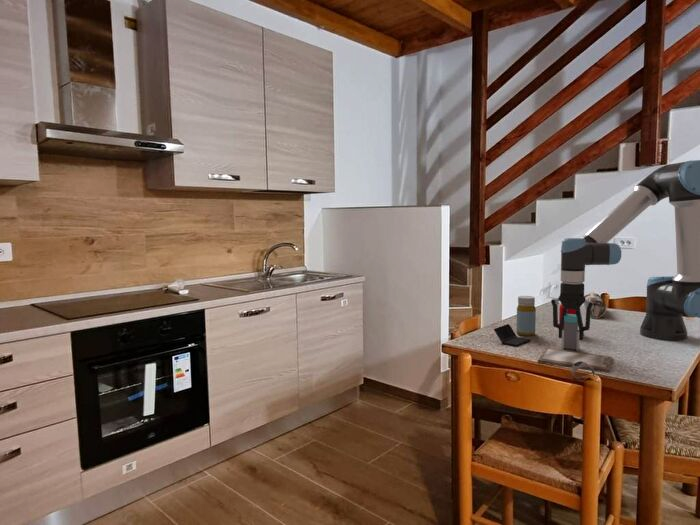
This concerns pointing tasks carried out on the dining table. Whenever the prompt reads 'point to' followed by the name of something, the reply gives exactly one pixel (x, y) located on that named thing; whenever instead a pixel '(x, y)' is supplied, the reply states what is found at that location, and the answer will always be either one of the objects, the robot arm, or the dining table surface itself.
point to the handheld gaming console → (509, 336)
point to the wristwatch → (578, 366)
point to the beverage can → (570, 311)
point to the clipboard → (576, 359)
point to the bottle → (526, 316)
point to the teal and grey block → (570, 332)
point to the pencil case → (596, 305)
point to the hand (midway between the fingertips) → (570, 348)
